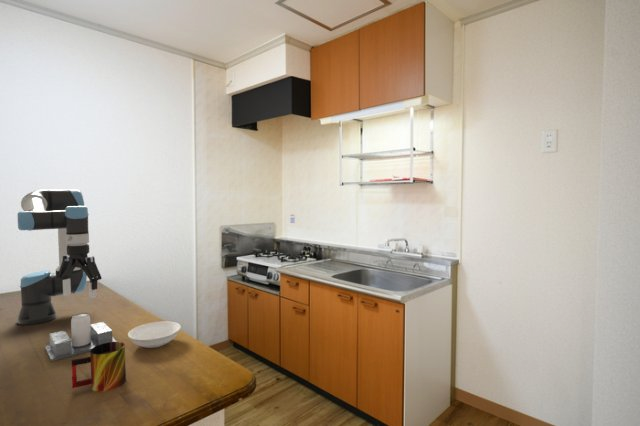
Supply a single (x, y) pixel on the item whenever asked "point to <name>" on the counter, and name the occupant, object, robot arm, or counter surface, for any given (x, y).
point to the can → (80, 330)
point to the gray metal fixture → (64, 348)
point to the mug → (103, 367)
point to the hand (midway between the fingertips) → (79, 296)
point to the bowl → (154, 334)
